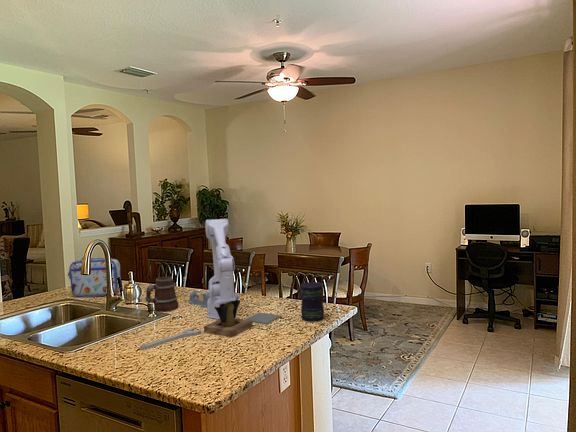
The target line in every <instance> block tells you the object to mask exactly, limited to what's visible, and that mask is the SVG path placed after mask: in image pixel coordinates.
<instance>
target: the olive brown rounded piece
mask: <svg viewBox="0 0 576 432" xmlns="http://www.w3.org/2000/svg"><path fill="white" fill-rule="evenodd" d="M224 305H225V306H228V309H227V314H226V323H222V326H224V327H232V326H234V325H235V320H234V314H233V310H234V305H233V303H229V302H228V303H226V304H224Z"/></svg>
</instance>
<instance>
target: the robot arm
mask: <svg viewBox="0 0 576 432" xmlns="http://www.w3.org/2000/svg"><path fill="white" fill-rule="evenodd" d="M229 224H230V223H229V220H228V219H227V218H219V219H217V218H216V219H206V220H205V222H204V225H205V226H204V227H205V236H206V239H208V240H210V242H211V249H212V261H213V276H212V277H211V278H210V279H209V281H208V291H209V296H210V298H209V299H208V302H207V307H206V308H207V310H206V311H207V316H206V318H208V319H209V318H210V319H215V320H219V319H220V321H221V322H222V323H226V314H227V309H228V306H225V305H224V304H226V303H228V302H229V303H233V305H234V310H233V314H234V318H237V317H236V316H237V312H238V308H239V306H240V305H241V300H240V299H241V296H240V294H239V293H235V283H234V282H235V281H234V272H235V270H236V269H235V267H236V265H235V260H234V257H233V255H232V254H231V248H230V246H229V244H227V243H226V237H227V236H228V233H229V230H230V229H229V228H230V227H229V226H230V225H229Z"/></svg>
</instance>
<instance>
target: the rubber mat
mask: <svg viewBox="0 0 576 432" xmlns="http://www.w3.org/2000/svg"><path fill="white" fill-rule="evenodd" d="M282 316H283V315H281V314H275V313H266V312H260V311H259V312H257V313H255V314H253V315H251V316H249V317H247V318H243V319H244V320H250V321H252V323H255V324H261V325H269V324H270V323H273V322H274V321H276V320H278V319H279V318H282Z"/></svg>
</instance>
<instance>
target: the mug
mask: <svg viewBox="0 0 576 432" xmlns="http://www.w3.org/2000/svg"><path fill="white" fill-rule="evenodd" d="M175 287H176V283H175V281H174V278H173V277H172V276H160V277H157V278H156V279H155V281H154V284H150V285H148V286H147V288H146V290H145V291H146V295H145V301H146V302H147V303H148V304H150V302H153V303H152V304H153V305H154V304H155V310H156V311H155V310H154V311H155V312H168V311H173V310H176V309H178V308H179V301H178V300H177V299H179V298H178V295H177V294H176V289H175ZM153 290H154V297H153V298H152V297H151V294H152V291H153Z"/></svg>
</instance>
